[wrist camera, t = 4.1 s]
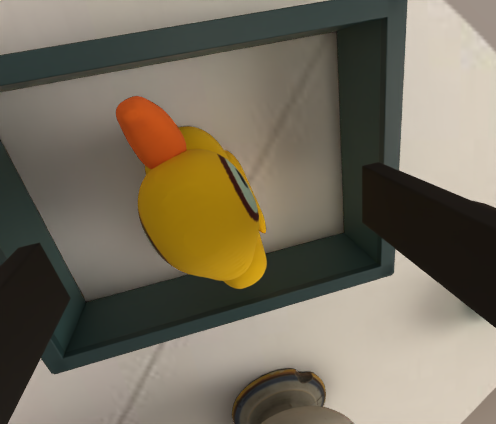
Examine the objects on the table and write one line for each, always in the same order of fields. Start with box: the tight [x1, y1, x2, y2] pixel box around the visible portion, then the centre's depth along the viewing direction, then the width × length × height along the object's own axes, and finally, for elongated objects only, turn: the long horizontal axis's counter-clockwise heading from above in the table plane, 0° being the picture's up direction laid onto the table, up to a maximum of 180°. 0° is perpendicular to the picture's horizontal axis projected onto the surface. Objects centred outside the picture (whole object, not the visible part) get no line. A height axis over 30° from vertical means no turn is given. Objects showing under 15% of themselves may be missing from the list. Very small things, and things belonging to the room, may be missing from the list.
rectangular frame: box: [0, 0, 407, 374], centre depth 17 cm, size 22×16×5 cm
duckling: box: [116, 96, 267, 289], centre depth 15 cm, size 11×5×10 cm, turn 26°
